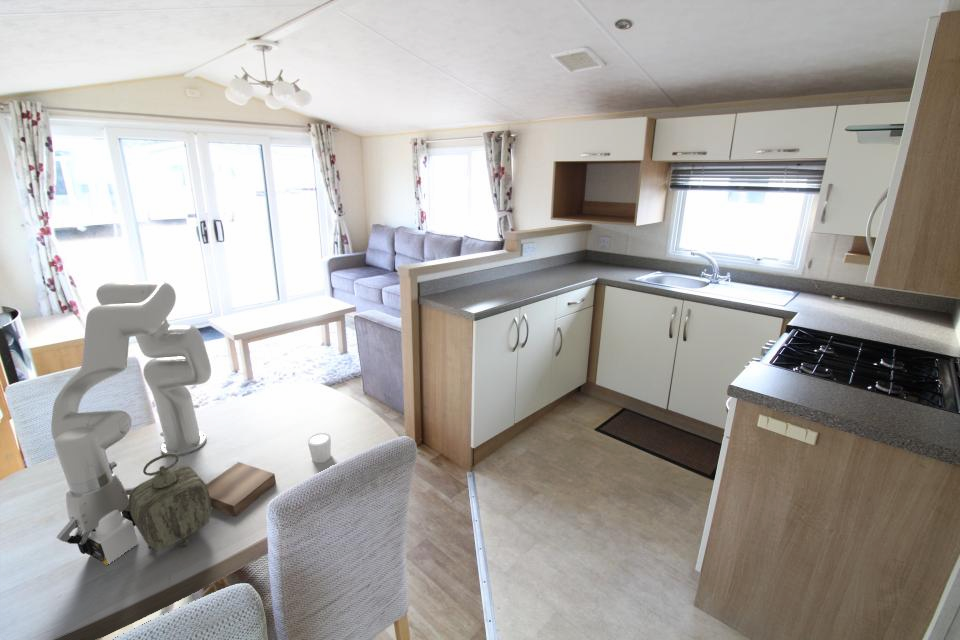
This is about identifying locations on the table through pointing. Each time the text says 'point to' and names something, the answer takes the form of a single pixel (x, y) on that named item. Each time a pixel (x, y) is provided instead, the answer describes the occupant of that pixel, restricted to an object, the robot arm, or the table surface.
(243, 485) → the block
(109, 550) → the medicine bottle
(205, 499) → the camouflage pouch
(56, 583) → the table surface
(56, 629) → the table surface
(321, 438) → the white cup
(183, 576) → the table surface
